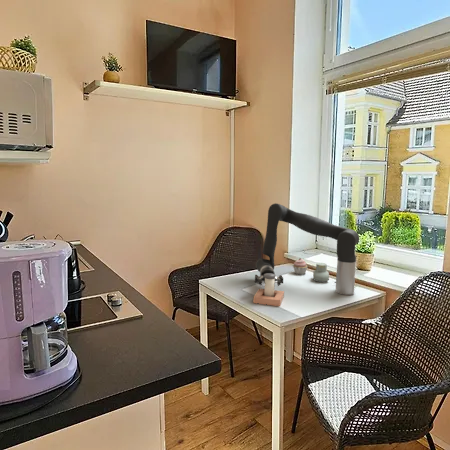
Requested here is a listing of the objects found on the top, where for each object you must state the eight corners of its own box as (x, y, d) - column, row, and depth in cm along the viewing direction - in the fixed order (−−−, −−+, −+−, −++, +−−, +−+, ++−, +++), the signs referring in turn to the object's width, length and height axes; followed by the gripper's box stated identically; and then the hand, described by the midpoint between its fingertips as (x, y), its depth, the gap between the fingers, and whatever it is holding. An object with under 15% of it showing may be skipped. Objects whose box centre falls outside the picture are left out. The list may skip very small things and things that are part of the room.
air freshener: (312, 277, 220) (313, 261, 218) (327, 278, 218) (328, 261, 217) (313, 283, 209) (314, 266, 207) (328, 284, 208) (329, 267, 206)
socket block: (284, 296, 187) (284, 291, 186) (280, 306, 175) (280, 300, 174) (258, 294, 191) (259, 288, 190) (253, 303, 178) (253, 297, 178)
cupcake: (289, 271, 230) (290, 256, 229) (303, 270, 232) (304, 255, 231) (296, 276, 221) (296, 260, 220) (310, 275, 224) (311, 259, 222)
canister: (275, 298, 184) (276, 273, 182) (273, 302, 180) (274, 276, 177) (264, 297, 186) (265, 272, 184) (262, 301, 181) (263, 275, 179)
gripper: (254, 266, 195) (255, 276, 179) (281, 267, 194) (284, 276, 178) (253, 280, 196) (255, 290, 180) (280, 280, 196) (284, 291, 180)
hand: (269, 283), depth 179 cm, fingers open, 8 cm apart
